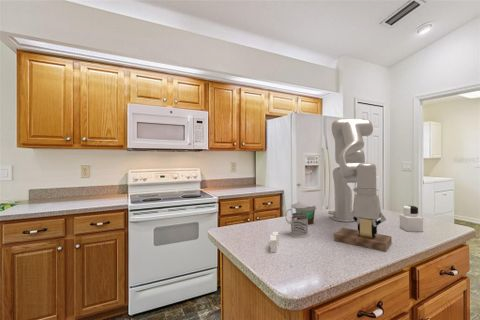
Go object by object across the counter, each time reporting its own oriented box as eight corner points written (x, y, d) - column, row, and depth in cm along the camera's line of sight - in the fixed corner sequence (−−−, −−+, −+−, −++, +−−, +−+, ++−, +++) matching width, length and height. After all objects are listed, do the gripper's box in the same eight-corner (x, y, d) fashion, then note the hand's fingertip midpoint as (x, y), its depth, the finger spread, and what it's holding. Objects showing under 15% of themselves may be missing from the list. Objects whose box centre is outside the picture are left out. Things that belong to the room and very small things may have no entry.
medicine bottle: (413, 227, 123) (413, 204, 123) (423, 232, 116) (422, 207, 115) (399, 227, 123) (399, 204, 123) (407, 231, 116) (407, 207, 116)
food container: (293, 224, 133) (293, 206, 133) (294, 221, 139) (294, 204, 139) (316, 225, 130) (316, 207, 130) (316, 222, 135) (316, 205, 135)
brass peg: (360, 239, 102) (359, 218, 102) (362, 236, 105) (362, 216, 105) (371, 241, 99) (371, 220, 99) (374, 238, 102) (374, 217, 102)
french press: (311, 238, 109) (310, 184, 109) (285, 236, 112) (284, 184, 112) (309, 231, 119) (308, 182, 119) (285, 230, 121) (285, 182, 121)
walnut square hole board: (334, 240, 106) (334, 233, 106) (343, 233, 114) (343, 227, 114) (385, 251, 92) (385, 243, 92) (391, 243, 101) (391, 236, 101)
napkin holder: (276, 257, 90) (276, 242, 90) (254, 249, 98) (253, 235, 98) (297, 246, 101) (296, 233, 101) (275, 240, 109) (275, 228, 109)
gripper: (343, 191, 105) (344, 232, 105) (387, 194, 94) (388, 240, 94) (348, 189, 110) (349, 228, 111) (390, 192, 99) (391, 235, 99)
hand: (367, 233), depth 102 cm, fingers closed on brass peg, 4 cm apart
